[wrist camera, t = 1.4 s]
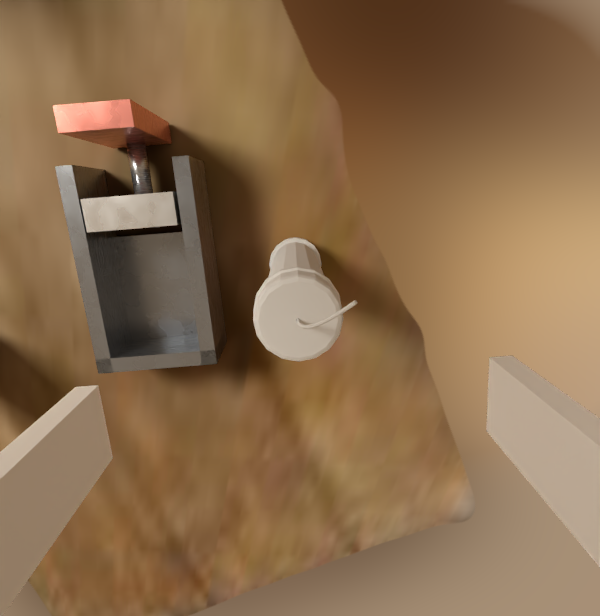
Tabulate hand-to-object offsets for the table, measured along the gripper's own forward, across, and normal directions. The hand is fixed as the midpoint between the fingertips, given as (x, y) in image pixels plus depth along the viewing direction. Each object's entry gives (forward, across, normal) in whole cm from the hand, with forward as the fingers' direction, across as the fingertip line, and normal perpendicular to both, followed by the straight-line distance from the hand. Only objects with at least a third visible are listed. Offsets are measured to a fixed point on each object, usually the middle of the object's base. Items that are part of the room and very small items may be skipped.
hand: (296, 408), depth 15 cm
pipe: (+35, 0, 0) cm, 35 cm away
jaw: (+34, -15, +10) cm, 39 cm away
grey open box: (+35, -15, +1) cm, 38 cm away
